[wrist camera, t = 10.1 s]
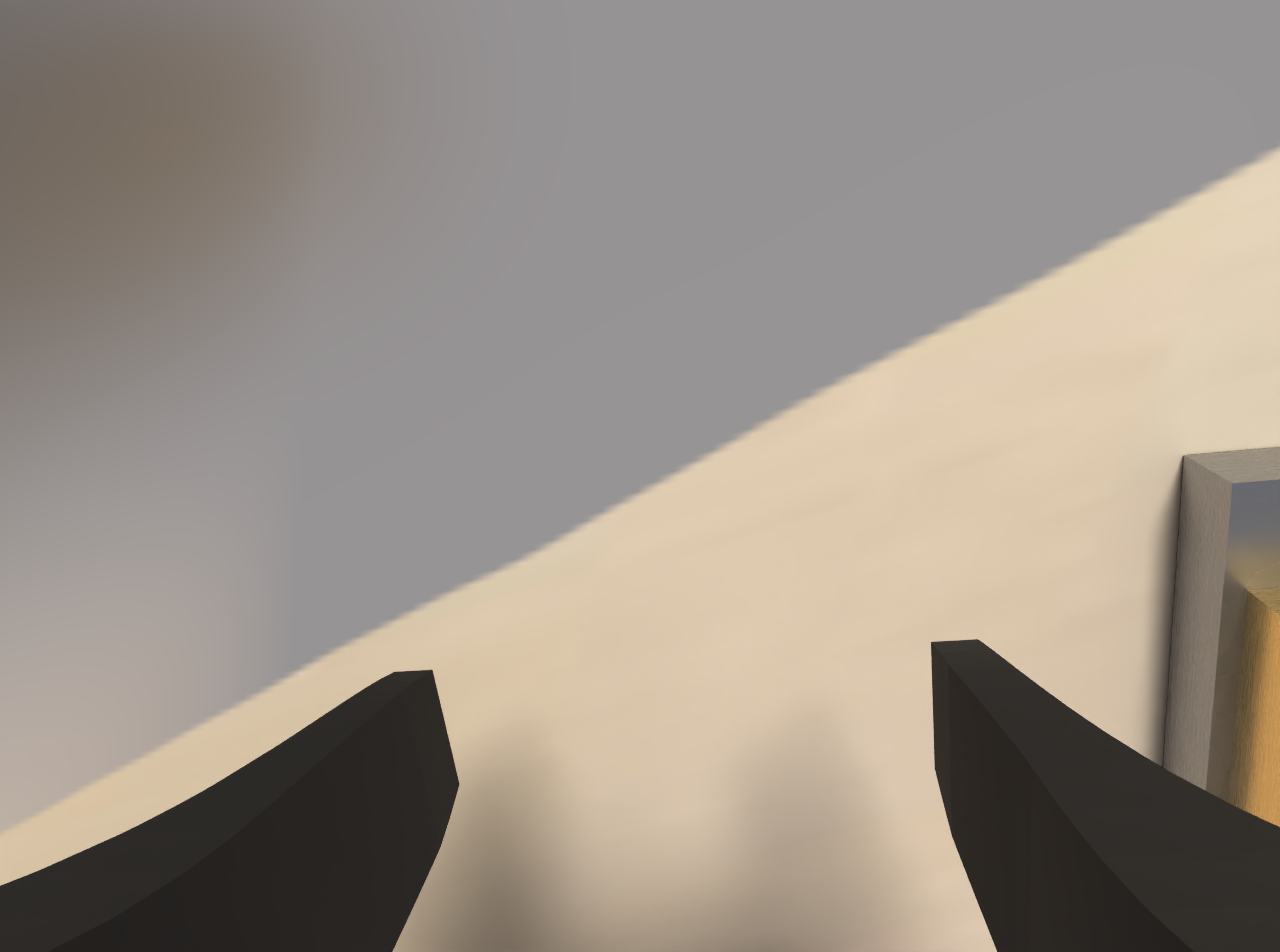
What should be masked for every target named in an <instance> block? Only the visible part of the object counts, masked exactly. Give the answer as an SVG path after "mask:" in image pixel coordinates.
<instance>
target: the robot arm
mask: <svg viewBox="0 0 1280 952" xmlns="http://www.w3.org/2000/svg"><path fill="white" fill-rule="evenodd" d="M931 656H932V689H933V722H934V755H935V771H936V775H937V779H938V783H939V787H940V791H941V795H942V799H943V803H944V807H945V811H946V815H947V818H948V822H949V826H950V830H951V834H952V837H953V840H954V842H955V845H956V848H957V850H958V853H959V855H960V858H961V861H962V863H963V866H964V868H965V871H966V873H967V876H968V879H969V881H970V884H971V886H972V889H973V891H974V894H975V896H976V899H977V901H978V904H979V907H980V909H981V912H982V914H983V917H984V919H985V922H986V924H987V927H988V929H989V932H990V934H991V937H992V939H993V942H994V944H995V947H996V950H997V952H1280V827H1279V826H1277V825H1274V824H1272V823H1270V822H1268V821H1265V820H1263V819H1261V818H1259V817H1257V816H1255V815H1253V814H1251V813H1249V812H1247V811H1244V810H1242V809H1240V808H1238V807H1236V806H1234V805H1232V804H1230V803H1228V802H1226V801H1224V800H1222V799H1220V798H1218V797H1217V796H1215V795H1213V794H1211V793H1209V792H1207V791H1205V790H1203V789H1202V788H1200V787H1198V786H1196V785H1194V784H1192V783H1190V782H1188V781H1186V780H1185V779H1183V778H1181V777H1179V776H1177V775H1175V774H1173V773H1172V772H1170V771H1168V770H1166V769H1165V768H1163V767H1161V766H1159V765H1158V764H1156V763H1154V762H1152V761H1151V760H1149V759H1147V758H1146V757H1144V756H1143V755H1141V754H1139V753H1138V752H1136V751H1135V750H1133V749H1131V748H1130V747H1128V746H1127V745H1125V744H1123V743H1122V742H1120V741H1119V740H1117V739H1115V738H1114V737H1112V736H1111V735H1109V734H1107V733H1106V732H1104V731H1103V730H1101V729H1100V728H1098V727H1097V726H1095V725H1094V724H1092V723H1091V722H1089V721H1088V720H1086V719H1085V718H1083V717H1082V716H1081V715H1079V714H1078V713H1076V712H1075V711H1073V710H1072V709H1071V708H1069V707H1068V706H1066V705H1065V704H1064V703H1062V702H1061V701H1059V700H1058V699H1057V698H1055V697H1054V696H1052V695H1051V694H1050V693H1048V692H1047V691H1046V690H1044V689H1043V688H1042V687H1040V686H1039V685H1038V684H1036V683H1035V682H1034V681H1032V680H1031V679H1030V678H1028V677H1027V676H1026V675H1024V674H1023V673H1022V672H1020V671H1019V670H1018V669H1016V668H1015V667H1014V666H1013V665H1011V664H1010V663H1009V662H1007V661H1006V660H1005V659H1004V658H1002V657H1001V656H1000V655H998V654H997V653H996V652H994V651H993V650H992V649H990V648H989V647H988V646H986V645H985V644H984V643H982V642H981V641H980V640H978V639H977V640H959V641H941V642H931ZM458 787H459V781H458V776H457V772H456V768H455V764H454V759H453V755H452V751H451V747H450V743H449V738H448V734H447V730H446V726H445V721H444V717H443V713H442V709H441V704H440V700H439V696H438V692H437V688H436V683H435V679H434V675H433V671H432V670H422V671H404V672H393V673H392V674H390V675H388V676H386V677H384V678H382V679H380V680H378V681H376V682H375V683H373V684H371V685H370V686H368V687H366V688H365V689H363V690H362V691H360V692H359V693H357V694H355V695H354V696H352V697H351V698H349V699H348V700H346V701H345V702H343V703H342V704H340V705H339V706H337V707H336V708H334V709H333V710H331V711H329V712H328V713H326V714H325V715H323V716H322V717H320V718H319V719H317V720H316V721H314V722H313V723H311V724H310V725H308V726H307V727H305V728H304V729H302V730H301V731H299V732H298V733H296V734H295V735H293V736H292V737H290V738H289V739H287V740H286V741H284V742H282V743H281V744H279V745H278V746H276V747H275V748H273V749H271V750H270V751H268V752H266V753H265V754H263V755H262V756H260V757H258V758H257V759H255V760H253V761H252V762H250V763H249V764H247V765H245V766H244V767H242V768H240V769H239V770H237V771H236V772H234V773H232V774H231V775H229V776H227V777H226V778H224V779H223V780H221V781H219V782H218V783H216V784H214V785H213V786H211V787H209V788H207V789H206V790H204V791H202V792H200V793H199V794H197V795H195V796H193V797H191V798H190V799H188V800H186V801H184V802H182V803H181V804H179V805H177V806H175V807H173V808H171V809H169V810H167V811H165V812H163V813H161V814H159V815H158V816H156V817H154V818H152V819H150V820H148V821H146V822H144V823H142V824H140V825H138V826H136V827H134V828H132V829H130V830H128V831H126V832H124V833H122V834H120V835H117V836H115V837H113V838H111V839H109V840H106V841H104V842H102V843H100V844H97V845H95V846H93V847H91V848H89V849H86V850H84V851H82V852H80V853H77V854H75V855H73V856H71V857H68V858H66V859H64V860H62V861H60V862H57V863H55V864H53V865H51V866H48V867H46V868H44V869H41V870H39V871H37V872H34V873H32V874H29V875H27V876H24V877H22V878H19V879H17V880H14V881H12V882H9V883H7V884H4V885H1V886H0V952H392V951H393V949H394V947H395V945H396V943H397V940H398V938H399V936H400V934H401V932H402V930H403V928H404V926H405V923H406V921H407V919H408V917H409V915H410V913H411V911H412V908H413V906H414V904H415V902H416V900H417V898H418V896H419V893H420V891H421V889H422V887H423V885H424V882H425V880H426V878H427V876H428V874H429V871H430V869H431V867H432V865H433V863H434V860H435V858H436V856H437V854H438V851H439V849H440V847H441V844H442V840H443V837H444V834H445V831H446V828H447V825H448V822H449V819H450V815H451V812H452V808H453V805H454V801H455V798H456V794H457V791H458Z"/></svg>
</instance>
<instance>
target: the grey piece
mask: <svg viewBox="0 0 1280 952" xmlns="http://www.w3.org/2000/svg"><path fill="white" fill-rule="evenodd" d="M1163 768H1165V769H1166V770H1168V771H1170V772H1172V773H1173V774H1175V775H1177V776H1179V777H1181V778H1183V779H1185V780H1186V781H1188V782H1190V783H1192V784H1194V785H1196V786H1198V787H1200V788H1202V789H1203V790H1205V791H1207V792H1209V793H1211V794H1213V795H1215V796H1217V797H1218V798H1220V799H1222V800H1224V801H1226V802H1228V803H1230V804H1232V805H1234V806H1236V807H1238V808H1240V809H1242V810H1244V811H1247V812H1249V813H1251V814H1253V815H1255V816H1257V817H1259V818H1261V819H1263V820H1265V821H1268V822H1270V823H1272V824H1274V825H1277V826H1279V827H1280V447H1274V448H1262V449H1250V450H1238V451H1227V452H1215V453H1203V454H1191V455H1184V463H1183V478H1182V492H1181V507H1180V522H1179V537H1178V551H1177V566H1176V581H1175V596H1174V610H1173V625H1172V640H1171V655H1170V669H1169V684H1168V699H1167V714H1166V728H1165V743H1164V758H1163Z"/></svg>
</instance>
